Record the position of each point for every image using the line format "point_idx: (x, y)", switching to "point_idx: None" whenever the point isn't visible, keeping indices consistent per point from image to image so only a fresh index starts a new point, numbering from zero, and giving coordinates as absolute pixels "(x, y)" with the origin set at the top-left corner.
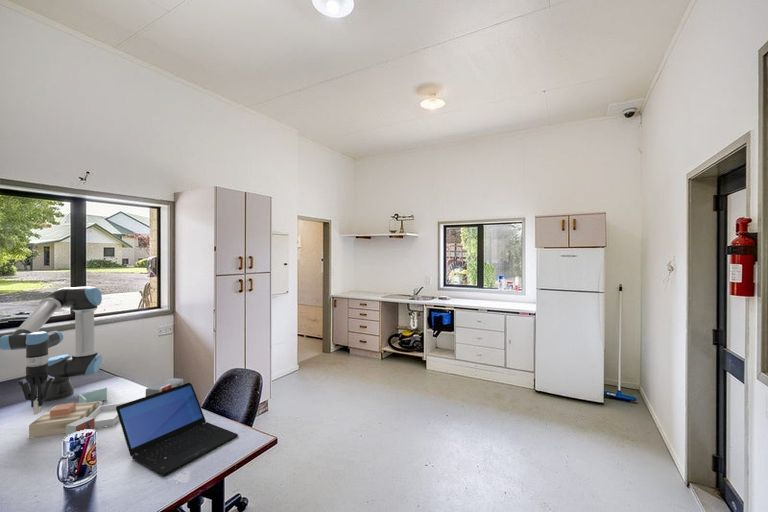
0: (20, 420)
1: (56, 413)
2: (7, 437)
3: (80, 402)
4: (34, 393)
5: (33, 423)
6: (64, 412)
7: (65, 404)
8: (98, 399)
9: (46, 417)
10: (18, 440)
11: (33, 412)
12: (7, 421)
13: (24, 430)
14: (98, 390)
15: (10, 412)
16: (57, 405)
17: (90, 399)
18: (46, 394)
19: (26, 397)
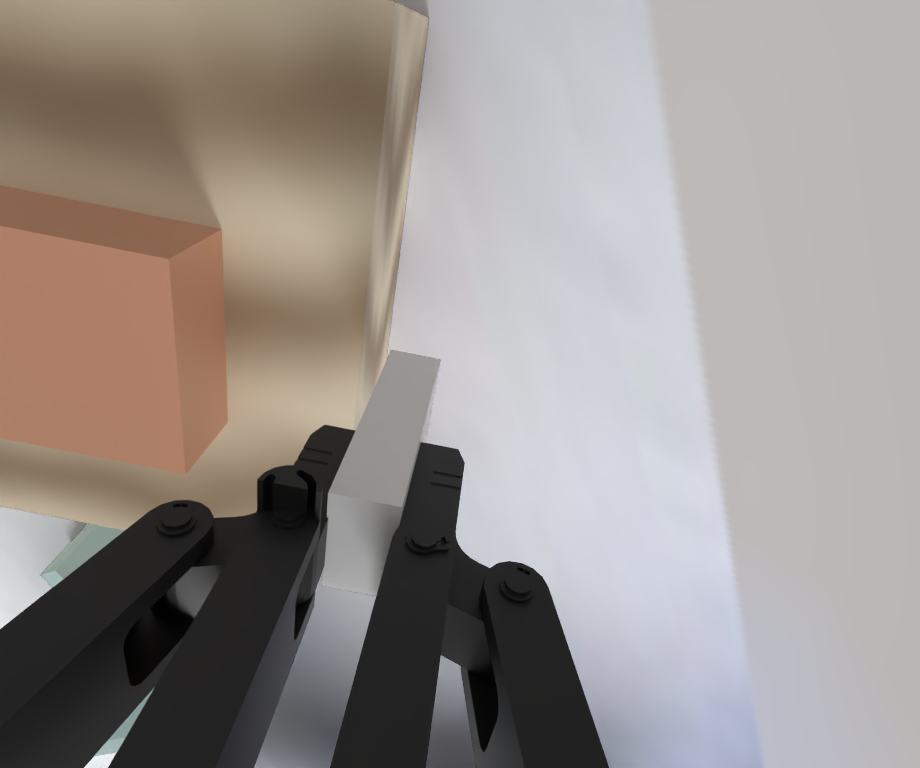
0: (639, 578)
1: (114, 224)
2: (668, 206)
3: None
4: (355, 689)
5: (351, 53)
6: (3, 200)
7: (80, 431)
8: None
9: (265, 239)
10: (529, 13)
11: (435, 374)
12: (732, 609)
13: (547, 319)
14: None
15: (737, 750)
16: (178, 448)
17: None
18: (94, 565)
19: (532, 623)
